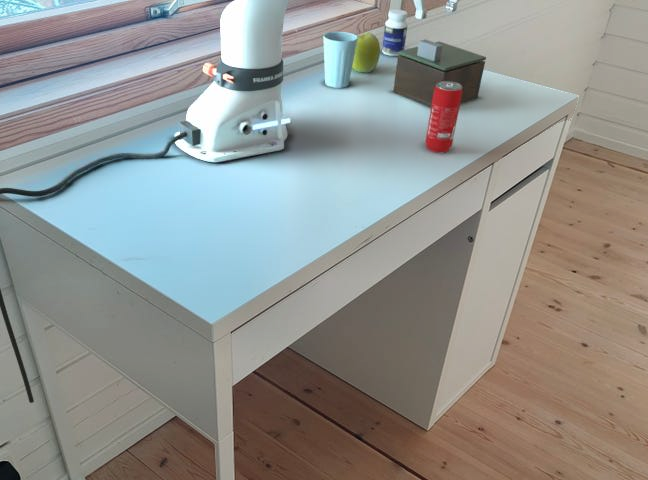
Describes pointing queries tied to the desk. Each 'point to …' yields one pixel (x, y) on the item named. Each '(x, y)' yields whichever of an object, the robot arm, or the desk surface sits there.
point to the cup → (339, 57)
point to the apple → (366, 53)
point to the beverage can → (443, 116)
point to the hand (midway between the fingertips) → (435, 14)
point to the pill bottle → (395, 33)
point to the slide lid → (441, 55)
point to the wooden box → (435, 79)
